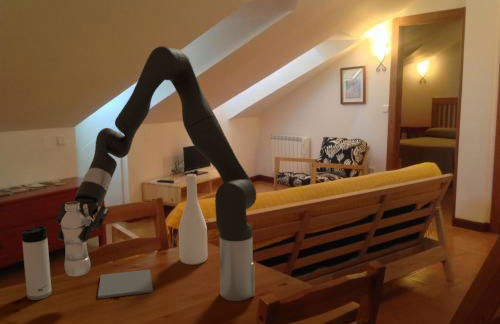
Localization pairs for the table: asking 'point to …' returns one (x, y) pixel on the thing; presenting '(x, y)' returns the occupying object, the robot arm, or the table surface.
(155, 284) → the table surface
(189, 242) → the wine bottle
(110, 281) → the slate mat
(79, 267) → the plastic bottle
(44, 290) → the travel mug
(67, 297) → the table surface
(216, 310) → the table surface
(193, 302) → the table surface
